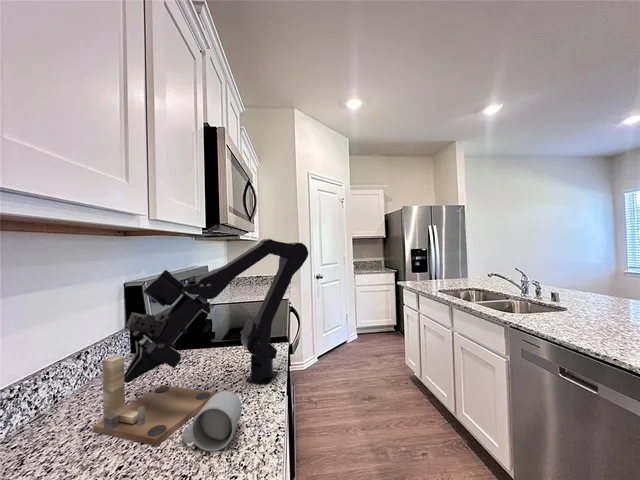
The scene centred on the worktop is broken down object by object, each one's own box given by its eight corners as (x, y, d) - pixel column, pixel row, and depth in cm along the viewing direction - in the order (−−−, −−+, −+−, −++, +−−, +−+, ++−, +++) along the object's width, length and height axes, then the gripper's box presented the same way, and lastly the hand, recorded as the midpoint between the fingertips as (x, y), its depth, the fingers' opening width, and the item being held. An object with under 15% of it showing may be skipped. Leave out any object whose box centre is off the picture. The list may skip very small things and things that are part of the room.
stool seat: (162, 389, 74) (162, 372, 74) (215, 397, 69) (215, 379, 69) (93, 431, 58) (92, 409, 58) (156, 446, 53) (156, 421, 53)
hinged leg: (142, 417, 60) (141, 358, 60) (131, 424, 57) (130, 363, 57) (115, 412, 62) (114, 355, 62) (103, 419, 59) (102, 360, 59)
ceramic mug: (244, 422, 60) (242, 384, 60) (234, 450, 51) (232, 407, 51) (191, 426, 59) (190, 388, 59) (173, 455, 51) (171, 411, 51)
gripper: (141, 293, 72) (86, 350, 65) (162, 304, 58) (94, 378, 51) (176, 318, 77) (128, 373, 70) (203, 334, 64) (147, 404, 56)
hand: (124, 380), depth 62 cm, fingers closed
